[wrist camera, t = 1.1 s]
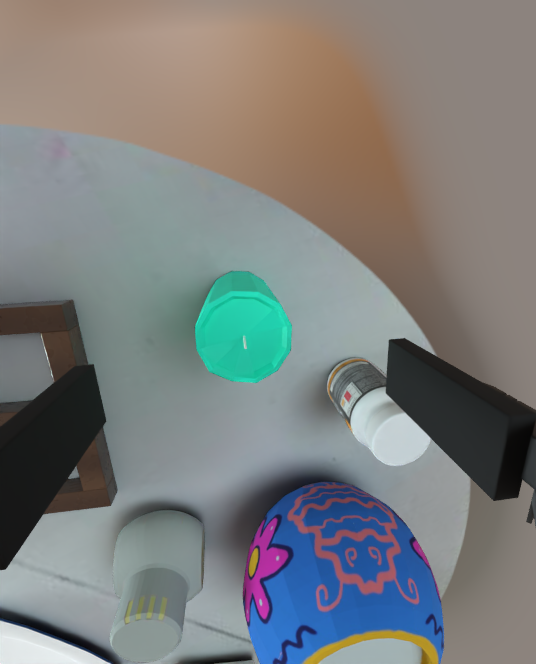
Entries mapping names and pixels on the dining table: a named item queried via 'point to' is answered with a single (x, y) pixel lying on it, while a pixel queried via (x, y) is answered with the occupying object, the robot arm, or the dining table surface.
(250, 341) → the candle
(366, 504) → the ceramic pot
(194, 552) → the air freshener
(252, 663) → the mug
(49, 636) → the plate
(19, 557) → the dining table surface
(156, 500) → the dining table surface
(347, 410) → the pill bottle
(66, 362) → the holder
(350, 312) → the dining table surface
